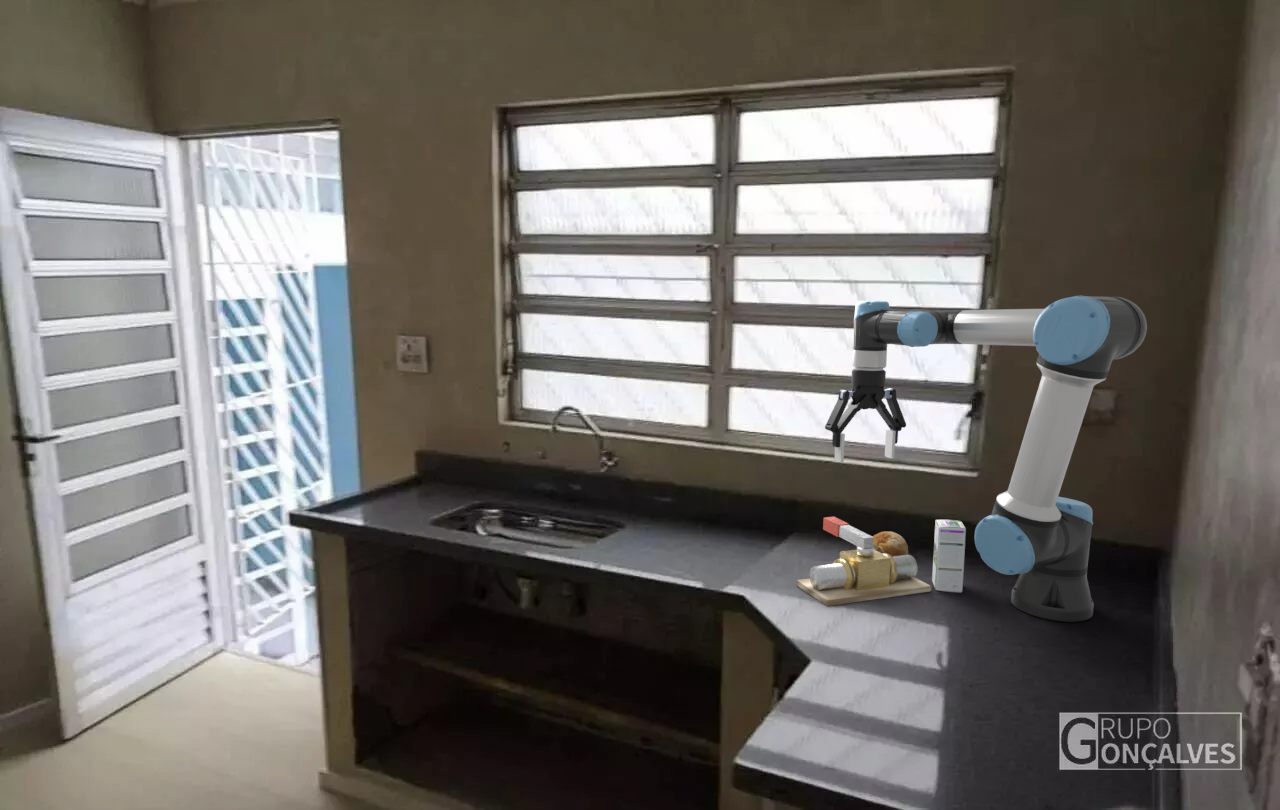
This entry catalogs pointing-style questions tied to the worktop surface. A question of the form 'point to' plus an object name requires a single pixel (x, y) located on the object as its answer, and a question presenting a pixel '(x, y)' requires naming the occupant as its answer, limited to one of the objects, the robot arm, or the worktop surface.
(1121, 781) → the worktop surface
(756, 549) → the worktop surface
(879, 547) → the bread roll
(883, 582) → the valve
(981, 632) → the worktop surface
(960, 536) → the syrup box
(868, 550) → the lever
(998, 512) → the robot arm
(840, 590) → the mounting board
